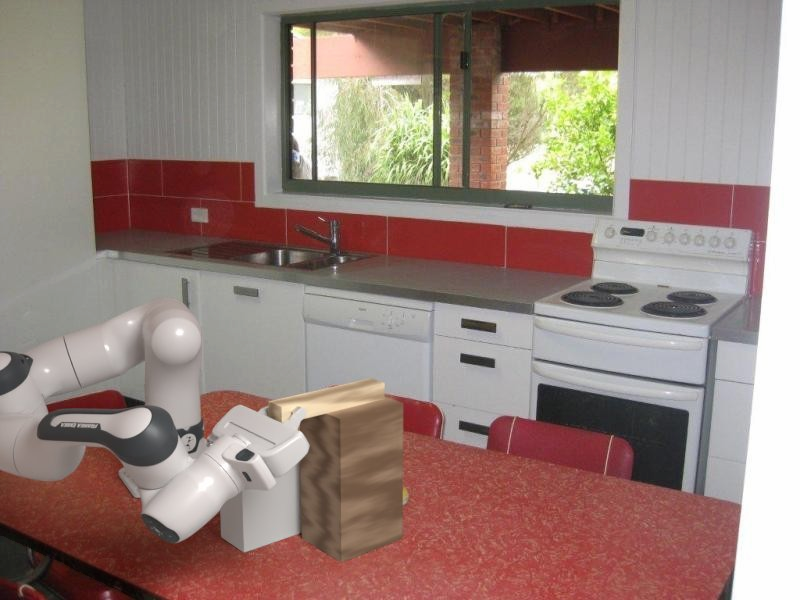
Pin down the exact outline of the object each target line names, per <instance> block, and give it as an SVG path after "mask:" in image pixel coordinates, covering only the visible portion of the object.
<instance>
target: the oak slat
mask: <svg viewBox="0 0 800 600" xmlns="http://www.w3.org/2000/svg"><path fill="white" fill-rule="evenodd" d="M385 383H386V382H383V381H380V380H378V379H375V378H372V377H369V378H366V379H365V378H364V379H361V380H357V381H352V382H348V383H344V384H339V385H336V386H330V387H326V388H322V389H317V390H311V391H309V392H308V391H307V392H304V393H299V394H294V395H290V396H286V397H281V398H277V399H274V400H273V399H272V400H269V401H267V402H268V405H267V406H268V409H269V417H270V418H272V419H274V420H276V421H278V422H281V423H284V422H285V421H286V420H288V421H289V420H290V418H291V416H292V413H291V411H292V410H293V409H295V408H296V407H297V406H299V407H302V408H304V409H305V411H306V413H307V416H306V417H305V418H304V419H306V418H310V417H314V416H318V415H322V414H326V413H330V412H334V411H338V410H342V409H346V408H350V407H354V406H358V405H362V404H366V403H370V402H374V401H378V400H382V399H385V397H386V396H385V393H386V390H385V389H386V387H385V386H386V385H385Z"/></svg>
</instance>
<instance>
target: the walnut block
mask: <svg viewBox="0 0 800 600" xmlns="http://www.w3.org/2000/svg"><path fill="white" fill-rule="evenodd" d="M299 431H301V432H302V433H303V434H304V436H305V438H306V439H307V441H308V443H309V445H310V447H309V450H308V453H307V454H306V455H305V456H304V457H303V459H302V460H301V519H302V533H301V539H302V540H303V541H305V542H307V543H308V544H310V545H311V546H313V547H315V548H316V549H318V550H319V551H322V552H324V554H327V555H328V556H330V557H331V558H333V559H335V560H336V561H338V562H340V563H344V562H346V561H349V560H352V559H354V558H357V557H359V556H362V555H365V554H368V553H370V552H372V551H376V550H377V549H380V548H382V547H385V546H389V545H391V544H393V543H396V542H398V541H401V540H403V535H404V534H403V530H404V528H403V527H404V526H403V523H404V522H403V521H404V520H403V513H404V512H403V511H404V510H403V507H404V506H403V487H404V402H401V401H400V400H399V401H398V400H396V399H394V398H391V397H389V396H385V399H382V400H378V401H374V402H370V403H366V404H362V405H358V406H354V407H350V408H346V409H342V410H338V411H334V412H330V413H326V414H322V415H318V416H314V417H310V418H306V419H303V420H302V421H301V422H300V425H299Z"/></svg>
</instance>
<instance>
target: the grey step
mask: <svg viewBox="0 0 800 600" xmlns="http://www.w3.org/2000/svg"><path fill="white" fill-rule="evenodd" d="M275 480H276V484H275V486H274V487H273V488H272V489H270V490H267V491H265V490H244V489H243V490H242V491H241V492H240V493H238V494H237V495H236V496H235V497H233V498H231V499H229V500H228V501H226V502H225V503H224V504H223V506H222V507H221V509H220V510H219V512H220V519H219V520H220V537H221V539H223V540H224V541H227V542H228V543H229V544H231V545H232V546H233V547H236V549H238V550H239V551H241V552H242V553H247V552H249V551H253V550H257V549H259V548H262V547H265V546H267V545H270V544H273V543H276V542H279V541H282V540H285V539H287V538H291V537H294V536H297V535H299V534H302V519H301V461H300V462H299V463H298V464H296V465H295V466H294V467H293V468H292V469H291V470H290V471H289V472H288V473H286V474H285V475H283V476H281V477H279V478H275Z"/></svg>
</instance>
